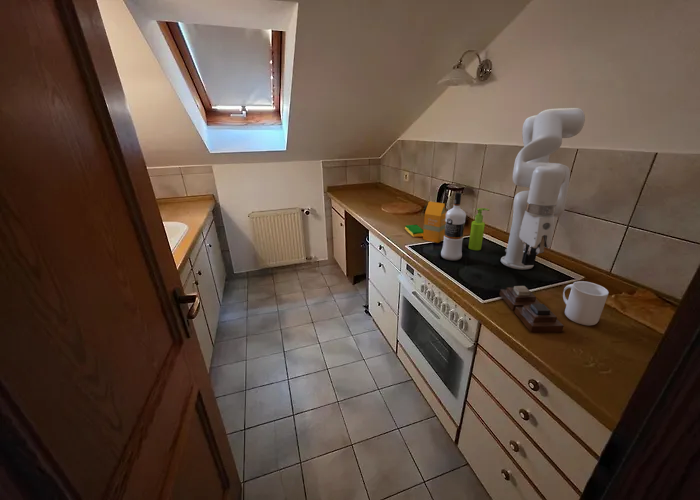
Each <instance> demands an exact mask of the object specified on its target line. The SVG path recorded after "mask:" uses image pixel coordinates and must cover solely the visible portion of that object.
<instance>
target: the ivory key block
mask: <svg viewBox="0 0 700 500" xmlns="http://www.w3.org/2000/svg"><path fill="white" fill-rule="evenodd" d="M513 289H514V286H511V287H506V288H505V289H503V288H501V289H499V294H498V295H499V296H500V297H501V298H502V300H503V301H504V302H505V303H506V305H507V306H508V307H509V308H510V309H511V310H512V311H514V312H515V308H516V307H523V305H531V304H542V303H541V302H540V301H539V300H538V299H537V296H536V295H535V294H534V293H533V292H532V291H530V294H529V295H517V294H516V293H515V292H514V291H513Z"/></svg>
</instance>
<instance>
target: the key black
mask: <svg viewBox="0 0 700 500" xmlns="http://www.w3.org/2000/svg"><path fill="white" fill-rule="evenodd" d="M530 309H531V310H532V311H533V312H534V313H535V314H536V315H549V314H550V311H551V310H550V308H549V307H547V305H545V304H544V303H541V304H531V308H530Z"/></svg>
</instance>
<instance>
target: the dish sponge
mask: <svg viewBox="0 0 700 500" xmlns="http://www.w3.org/2000/svg"><path fill="white" fill-rule="evenodd" d="M404 227H405V228H404V230H405V231H406V232H407V233H408V234H410V236H412V237H413V238H415V237H416V238H418V237H423V232H424V228H422V227H421V226H420V225H418V224H406V225H405V226H404Z"/></svg>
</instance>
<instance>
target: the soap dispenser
mask: <svg viewBox="0 0 700 500" xmlns="http://www.w3.org/2000/svg"><path fill="white" fill-rule="evenodd" d="M476 211H477V213H476V214H475V216H474V220H473V221H471V224H470V226H471V227H470V233H469V238H468V245H467V247H468V249H469V250H472V251H481V250H482V246H483V239H484V234H485V233H484V232H485V227H486V222H484V220H483V219H484V215H483V214H482V213H483V211H486V212H488V211H490V209H489V208H486V207H477V208H476Z"/></svg>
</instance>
